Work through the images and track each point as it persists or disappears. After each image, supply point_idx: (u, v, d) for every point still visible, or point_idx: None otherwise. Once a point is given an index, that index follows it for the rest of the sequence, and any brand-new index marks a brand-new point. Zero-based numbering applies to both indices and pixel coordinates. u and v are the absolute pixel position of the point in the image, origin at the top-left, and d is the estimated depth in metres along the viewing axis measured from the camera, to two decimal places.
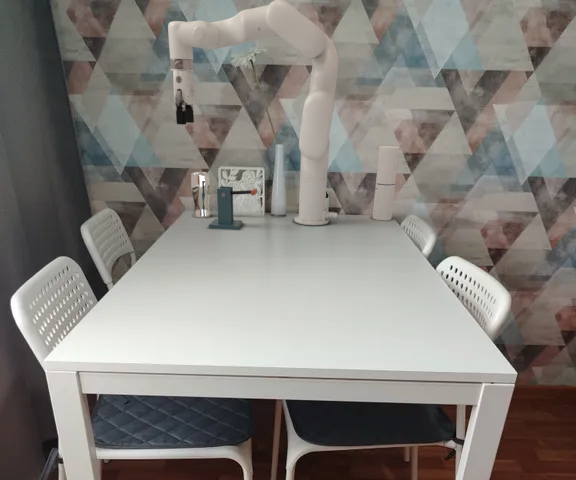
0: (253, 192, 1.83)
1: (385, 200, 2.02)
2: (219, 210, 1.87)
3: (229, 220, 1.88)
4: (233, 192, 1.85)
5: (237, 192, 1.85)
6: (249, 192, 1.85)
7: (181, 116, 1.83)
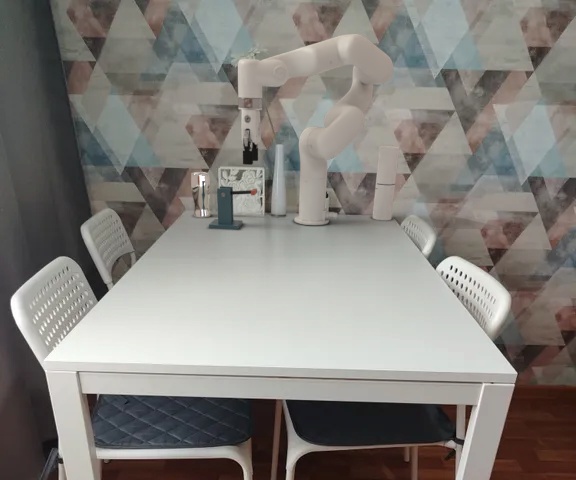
0: (253, 192, 1.83)
1: (385, 200, 2.02)
2: (219, 210, 1.87)
3: (229, 220, 1.88)
4: (233, 192, 1.85)
5: (237, 192, 1.85)
6: (249, 192, 1.85)
7: (248, 156, 1.75)
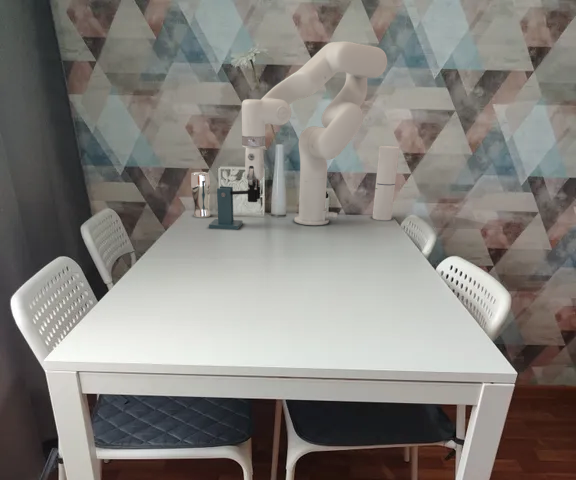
0: None
1: (385, 200, 2.02)
2: (219, 210, 1.87)
3: (229, 220, 1.88)
4: (233, 192, 1.85)
5: (237, 192, 1.85)
6: None
7: (253, 194, 1.82)
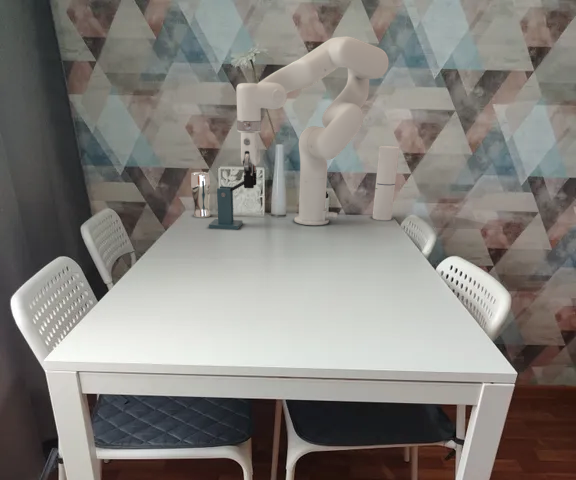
0: None
1: (385, 200, 2.02)
2: (219, 210, 1.87)
3: (229, 220, 1.88)
4: (232, 188, 1.85)
5: (235, 186, 1.84)
6: None
7: (249, 180, 1.80)
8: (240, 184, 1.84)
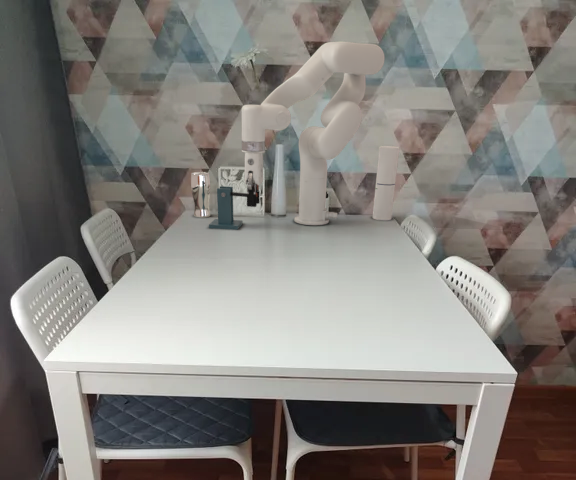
0: None
1: (385, 200, 2.02)
2: (219, 210, 1.87)
3: (229, 220, 1.88)
4: (233, 193, 1.86)
5: (237, 194, 1.85)
6: None
7: (252, 199, 1.82)
8: (243, 195, 1.85)
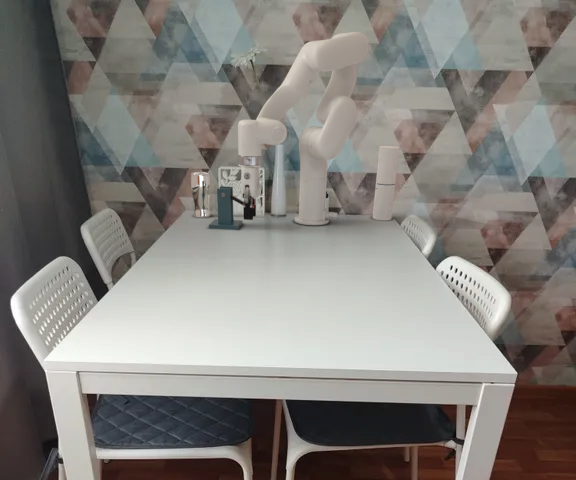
0: None
1: (385, 200, 2.02)
2: (219, 210, 1.87)
3: (229, 220, 1.88)
4: (233, 197, 1.86)
5: (236, 199, 1.86)
6: None
7: (248, 212, 1.85)
8: (241, 202, 1.87)
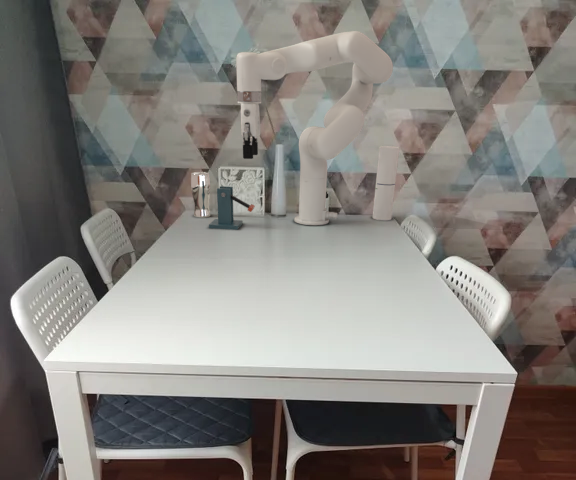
0: (250, 209, 1.85)
1: (385, 200, 2.02)
2: (219, 210, 1.87)
3: (229, 220, 1.88)
4: (233, 197, 1.86)
5: (236, 199, 1.86)
6: (247, 206, 1.87)
7: (248, 150, 1.74)
8: (241, 202, 1.87)
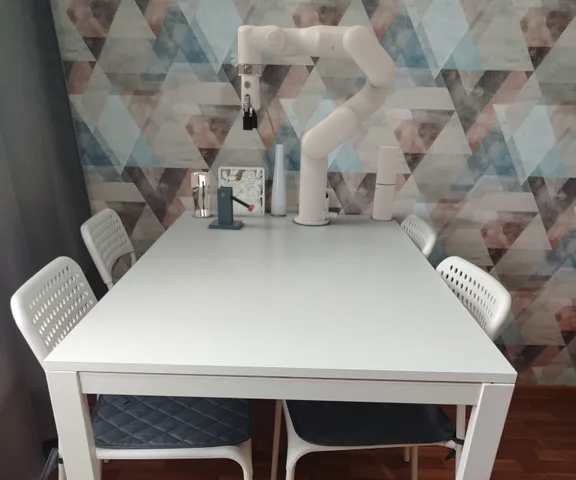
0: (250, 209, 1.85)
1: (385, 200, 2.02)
2: (219, 210, 1.87)
3: (229, 220, 1.88)
4: (233, 197, 1.86)
5: (236, 199, 1.86)
6: (247, 206, 1.87)
7: (248, 122, 1.80)
8: (241, 202, 1.87)
